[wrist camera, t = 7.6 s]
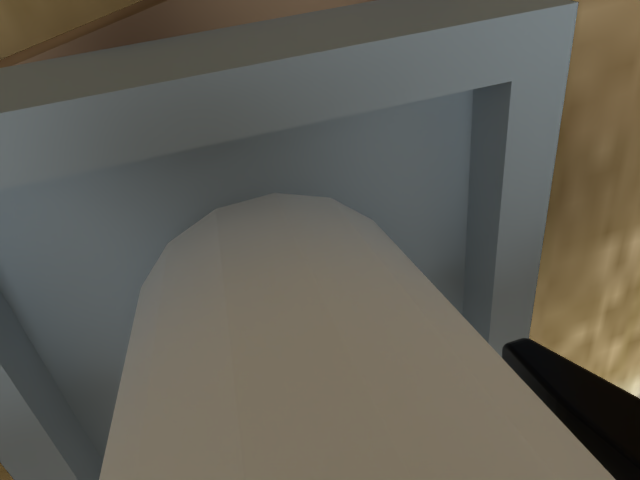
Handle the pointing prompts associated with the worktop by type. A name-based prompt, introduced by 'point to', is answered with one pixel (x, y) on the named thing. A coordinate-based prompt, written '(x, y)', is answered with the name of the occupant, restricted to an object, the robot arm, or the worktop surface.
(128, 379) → the shot glass
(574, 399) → the robot arm
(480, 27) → the slab top
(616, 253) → the worktop surface
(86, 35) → the slab bottom
